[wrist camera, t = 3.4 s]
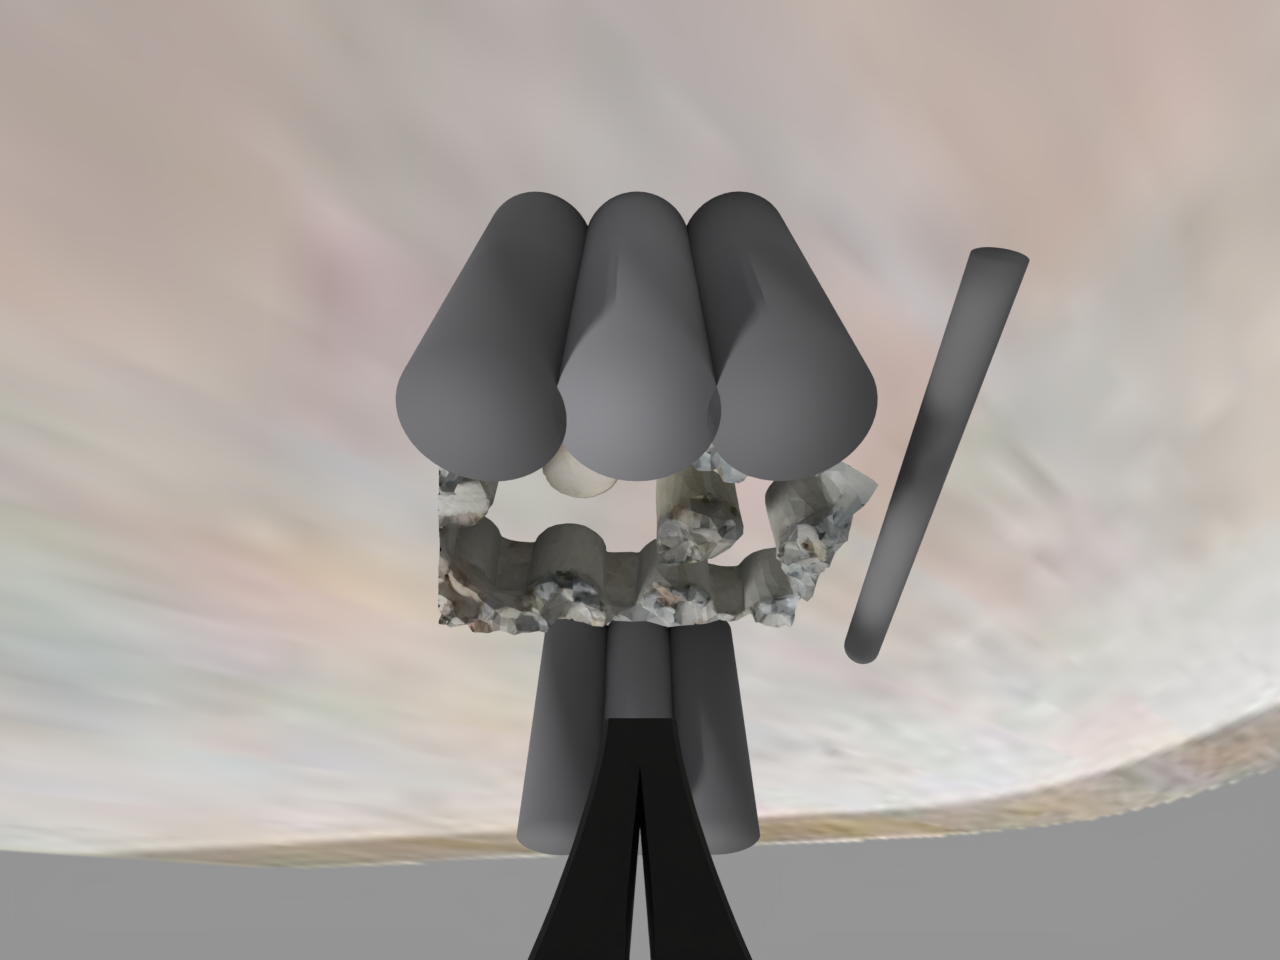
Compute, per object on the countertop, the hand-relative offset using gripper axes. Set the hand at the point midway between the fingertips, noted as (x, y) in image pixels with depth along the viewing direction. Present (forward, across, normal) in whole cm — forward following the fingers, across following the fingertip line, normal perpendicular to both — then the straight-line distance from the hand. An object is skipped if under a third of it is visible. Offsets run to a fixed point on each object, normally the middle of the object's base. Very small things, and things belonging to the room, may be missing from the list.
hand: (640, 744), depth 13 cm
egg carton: (+9, 0, +1) cm, 9 cm away
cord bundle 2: (+8, 0, +7) cm, 11 cm away
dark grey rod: (+8, +8, 0) cm, 11 cm away
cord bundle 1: (+8, 0, -7) cm, 11 cm away
